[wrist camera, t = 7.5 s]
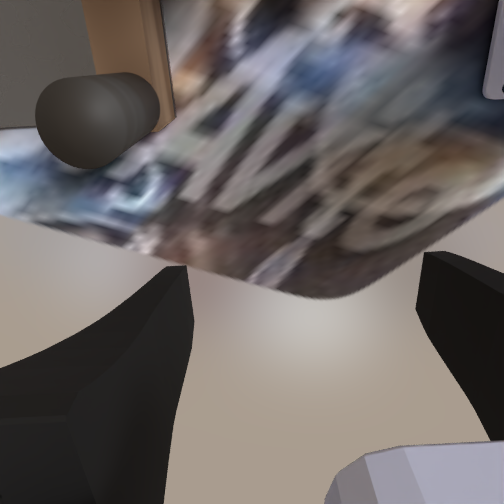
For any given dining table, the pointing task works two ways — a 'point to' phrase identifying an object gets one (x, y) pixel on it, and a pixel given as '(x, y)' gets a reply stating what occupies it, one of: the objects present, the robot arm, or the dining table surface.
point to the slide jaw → (110, 87)
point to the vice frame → (42, 53)
